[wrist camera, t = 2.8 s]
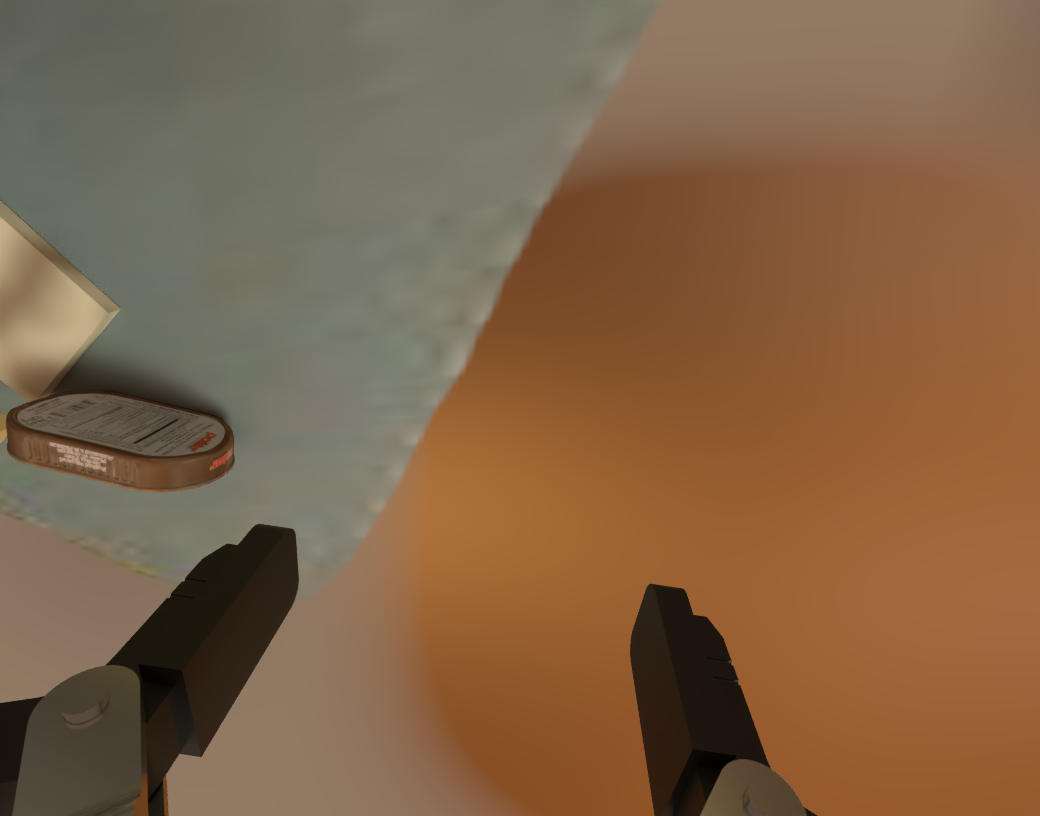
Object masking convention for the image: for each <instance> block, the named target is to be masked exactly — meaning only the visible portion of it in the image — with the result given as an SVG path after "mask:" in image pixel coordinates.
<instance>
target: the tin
mask: <svg viewBox="0 0 1040 816" xmlns="http://www.w3.org/2000/svg"><path fill="white" fill-rule="evenodd" d="M6 430H7V437H8V443H7V451H8V453H9V454H10V455H11V456H12V457H13V458H14V459H16V460H18V461H20V462H22V463H25V464H28V465H32V466H36V467H40V468H44V469H49V470H53V471H57V472H61V473H66V474H70V475H74V476H78V477H83V478H86V479H90V480H95V481H99V482H103V483H107V484H111V485H115V486H119V487H123V488H127V489H132V490H137V491H144V492H171V491H181V490H187V489H192V488H196V487H200V486H203V485H206V484H209V483H211V482H213V481H215V480H217V479H219V478H221V477H223V476H224V475H225V474H227V473H228V472H229V471H230V470H231V468H232V467H233V465H234V462H235V457H234V436H233V432H232V430H231V428H230V427H229V425H228V424H226V423H225V422H224V421H222V420H220V419H218V418H216V417H213V416H211V415H207V414H203V413H199V412H195V411H191V410H187V409H183V408H179V407H175V406H171V405H167V404H163V403H158V402H154V401H150V400H146V399H142V398H138V397H134V396H129V395H125V394H120V393H115V392H108V391H71V392H62V393H57V394H53V395H50V396H47V397H44V398H41V399H37V400H34V401H31V402H28V403H26V404H23V405H21V406H19V407H16V408H13V409H11V410H10V412H9V413H8V415H7V417H6Z"/></svg>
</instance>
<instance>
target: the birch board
mask: <svg viewBox="0 0 1040 816" xmlns="http://www.w3.org/2000/svg"><path fill="white" fill-rule="evenodd" d="M120 310H121V308H119V307H118V306H117V305H116V304H115V303H114V302H113V301H112V300H111V299H109V298H108V297H107V296H106V295H105V294H104V293H103V292H102V291H101V290H99V289H98V288H97V287H96V286H95V285H94V284H93V283H92V282H91V281H89V280H88V279H87V278H86V277H85V276H84V275H83V274H82V273H81V272H79V271H78V270H77V269H76V268H75V267H74V266H73V265H72V264H71V263H69V262H68V261H67V260H66V259H65V258H64V257H63V256H62V255H60V254H59V253H58V252H57V251H56V250H55V249H54V248H53V247H52V246H50V245H49V244H48V243H47V242H46V241H45V240H44V239H43V238H42V237H40V236H39V235H38V234H37V233H36V232H35V231H34V230H33V229H32V228H30V227H29V226H28V225H27V224H26V223H25V222H24V221H23V220H22V219H20V218H19V217H18V216H17V215H16V214H15V213H14V212H13V211H12V210H10V209H9V208H8V207H7V206H6V205H5V204H4V203H3V202H1V201H0V380H1V381H3V382H4V383H5V384H6V385H8V386H9V387H10V388H11V389H13V390H14V391H15V392H16V393H18V394H19V395H20V396H21V397H23V398H24V399H25V400H27V401H28V402H31V401H34V400H37V399H41V398H44V397H47V396H49V395H50V394H51V392H52V391H53V390H54V389H55V388H56V386H57V385H58V384H59V383H60V382H61V380H62V379H63V378H64V377H65V376H66V374H67V373H68V372H69V371H70V370H71V368H72V367H73V366H74V365H75V364H76V362H77V361H78V360H79V359H80V358H81V356H82V355H83V354H84V353H85V352H86V350H87V349H88V348H89V347H90V346H91V344H92V343H93V342H94V341H95V340H96V338H97V337H98V336H99V335H100V334H101V332H102V331H103V330H104V329H105V328H106V326H107V325H108V324H109V323H110V322H111V320H112V319H113V318H114V317H115V316H116V314H117V313H118V312H119V311H120Z"/></svg>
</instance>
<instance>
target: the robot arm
mask: <svg viewBox="0 0 1040 816" xmlns="http://www.w3.org/2000/svg"><path fill="white" fill-rule="evenodd" d="M298 583H299V576H298V561H297V546H296V534H295V531H294V530H293V529H291V528H284V527H277V526H271V525H264V524H257V525H255V526H254V527H253V528H252V529H251V530H250V531H249V532H248V534H247V535H246V536H245V537H244V538H243V540H242V541H241V542H240V543H239V544H238V545H233V544H226V545H224V546H222V547H221V548H219V549H218V550H216V551H214V552H213V553H211V554H209V555H208V556H206V557H205V558H203V559H202V560H201V561H200V562H199V563H198V564H197V566H196V567H195V568H194V569H193V570H192V571H191V572H190V573H189V574H188V575H187V577H186V578H185V581H184V582H181V583H180V584H179V585H178V587H177V588H176V589H175V590H174V591H173V592H172V593H171V596H170V598H167V599H166V600H165V601H164V602H163V603H162V604H161V605H160V606H159V608H158V609H157V610H156V611H155V612H154V613H153V614H152V615H151V616H150V617H149V619H148V620H147V621H146V622H145V623H144V624H143V625H142V626H141V627H140V629H139V630H138V631H137V632H136V633H135V634H134V635H133V636H132V637H131V638H130V640H129V641H128V642H127V643H126V644H125V645H124V646H123V647H122V648H121V650H120V651H119V652H118V653H117V654H116V655H115V656H114V657H113V658H112V659H111V660H110V661H109V662H108V663H107V664H106V665H105V666H101V667H96V668H92V669H89V670H86V671H83V672H81V673H79V674H76V675H74V676H72V677H70V678H68V679H67V680H65V681H63V682H62V683H60V684H59V685H57V686H56V687H55V688H53V689H52V690H51V691H50V692H49V693H48V694H46V695H45V696H43V697H39V698H33V699H25V700H19V701H12V702H5V703H0V816H169V813H168V794H167V780H166V773H167V772H168V771H169V769H170V767H171V766H172V764H173V763H174V761H175V760H176V758H177V757H178V755H179V754H185V755H192V756H198V757H202V755H203V753H204V752H205V750H206V748H207V747H208V745H209V743H210V742H211V740H212V738H213V737H214V735H215V733H216V732H217V730H218V728H219V727H220V725H221V723H222V722H223V720H224V718H225V717H226V715H227V713H228V712H229V710H230V708H231V707H232V705H233V704H234V702H235V700H236V698H237V697H238V695H239V693H240V692H241V690H242V689H243V687H244V685H245V684H246V682H247V680H248V678H249V677H250V675H251V674H252V672H253V670H254V669H255V667H256V665H257V664H258V662H259V660H260V658H261V657H262V655H263V654H264V652H265V650H266V649H267V647H268V645H269V644H270V642H271V640H272V639H273V637H274V635H275V634H276V632H277V630H278V629H279V627H280V625H281V624H282V622H283V620H284V619H285V617H286V615H287V614H288V612H289V610H290V609H291V607H292V605H293V602H294V600H295V597H296V594H297V590H298ZM630 658H631V666H632V672H633V678H634V685H635V692H636V698H637V705H638V711H639V717H640V724H641V730H642V737H643V743H644V750H645V756H646V763H647V769H648V776H649V782H650V789H651V795H652V802H653V808H654V814H655V816H817V815H815V814H814V813H812V812H811V811H809V810H808V809H806V808H805V807H803V805H802V803H801V801H800V799H799V798H798V796H797V795H796V793H795V791H794V790H793V789H792V788H791V786H790V785H789V784H788V783H787V782H786V781H785V780H784V779H783V778H782V777H781V776H780V775H778V774H777V773H776V772H775V771H773V770H772V769H771V768H770V766H769V763H768V761H767V759H766V756H765V753H764V750H763V748H762V745H761V742H760V739H759V736H758V733H757V731H756V728H755V726H754V722H753V720H752V717H751V714H750V712H749V709H748V706H747V703H746V700H745V698H744V695H743V692H742V689H741V686H740V685H738V678H737V675H736V672H735V669H734V667H733V666H732V665H731V658H730V656H729V653H728V650H727V647H726V645H725V642H724V639H723V637H722V636H721V635H720V633H719V632H718V631H717V629H716V628H715V627H714V626H713V624H712V623H711V622H710V621H709V619H708V618H707V617H704V616H697V615H693V612H692V609H691V606H690V603H689V599H688V596H687V593H686V592H685V590H684V589H682V588H675V587H668V586H662V585H656V584H649V585H648V586H647V588H646V591H645V594H644V597H643V600H642V603H641V606H640V610H639V612H638V615H637V618H636V622H635V625H634V628H633V631H632V635H631V644H630Z"/></svg>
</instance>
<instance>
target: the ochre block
mask: <svg viewBox="0 0 1040 816" xmlns="http://www.w3.org/2000/svg"><path fill="white" fill-rule="evenodd" d="M6 436H7V430H6V416H5V415H3V414H2V413H1V412H0V444H1V442H2V441H3V440H4V439H5V438H6Z"/></svg>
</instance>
